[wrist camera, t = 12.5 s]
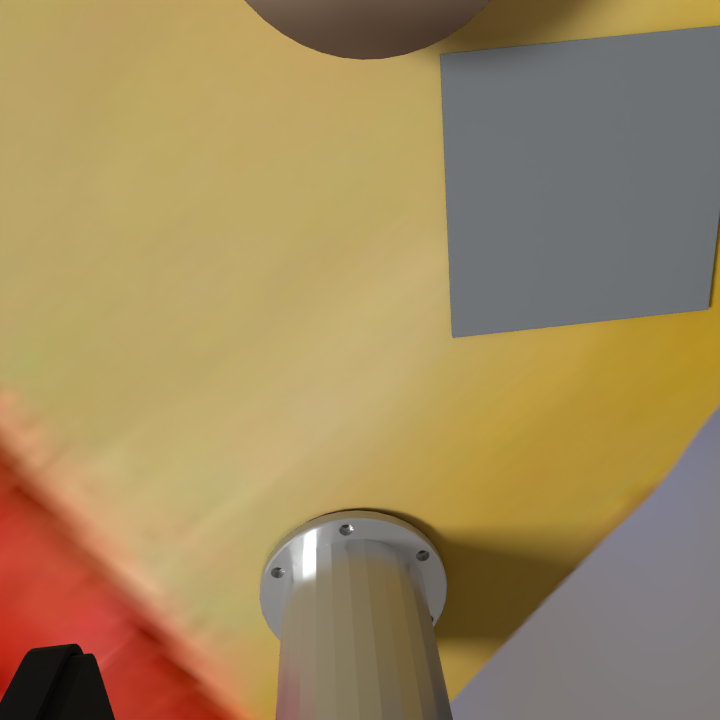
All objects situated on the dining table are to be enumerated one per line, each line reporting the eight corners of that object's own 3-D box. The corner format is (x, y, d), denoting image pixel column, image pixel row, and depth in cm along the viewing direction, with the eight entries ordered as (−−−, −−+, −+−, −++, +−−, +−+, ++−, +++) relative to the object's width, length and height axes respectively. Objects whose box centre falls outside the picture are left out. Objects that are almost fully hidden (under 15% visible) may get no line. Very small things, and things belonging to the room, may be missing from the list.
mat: (704, 307, 39) (708, 309, 39) (451, 335, 39) (453, 337, 39) (737, 23, 33) (742, 23, 33) (440, 54, 33) (441, 54, 33)
